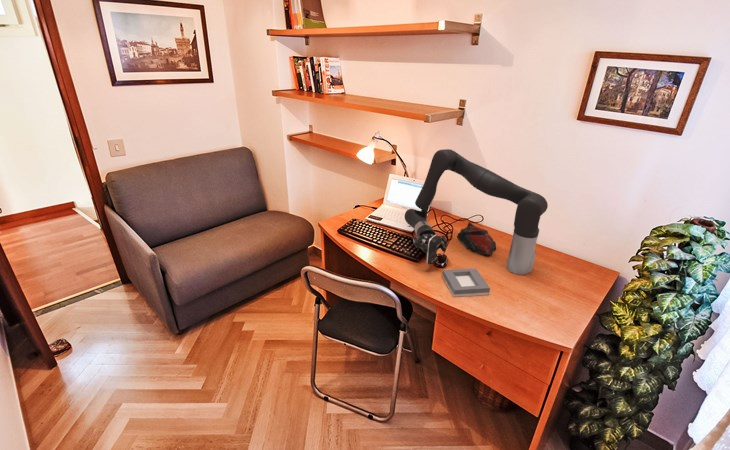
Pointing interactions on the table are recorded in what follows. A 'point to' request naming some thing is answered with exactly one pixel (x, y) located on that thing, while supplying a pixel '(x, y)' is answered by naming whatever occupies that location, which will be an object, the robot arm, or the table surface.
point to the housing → (465, 282)
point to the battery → (433, 249)
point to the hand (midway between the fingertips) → (435, 250)
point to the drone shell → (477, 240)
